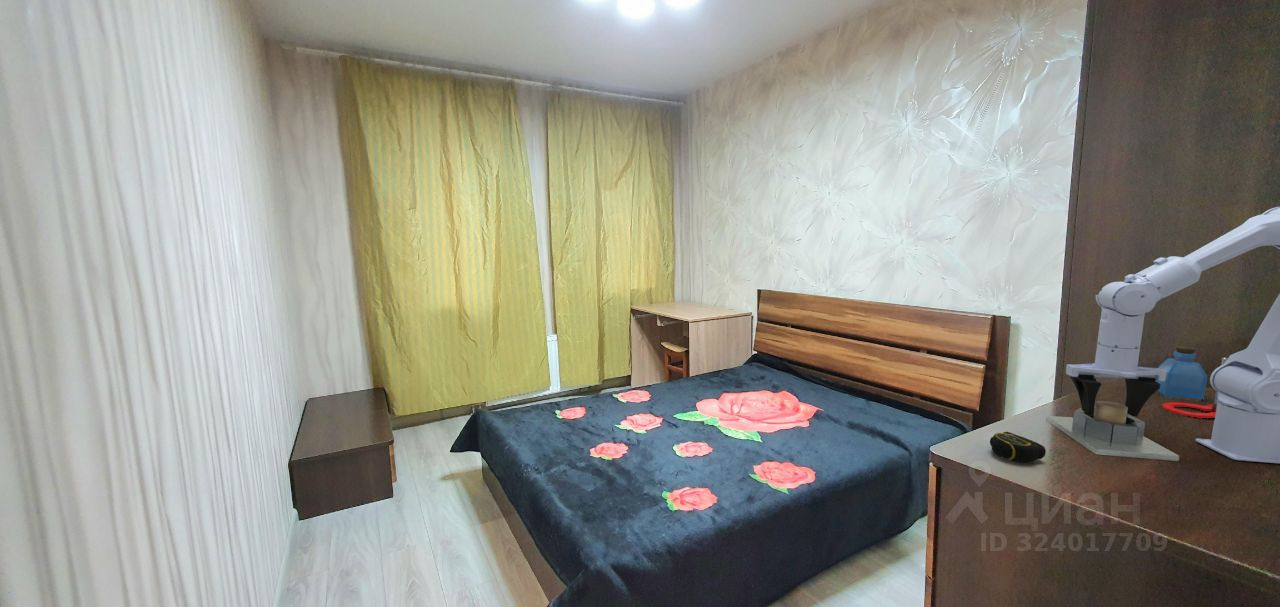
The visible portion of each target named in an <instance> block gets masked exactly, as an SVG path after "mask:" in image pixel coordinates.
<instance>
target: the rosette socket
mask: <svg viewBox="0 0 1280 607" xmlns="http://www.w3.org/2000/svg"><path fill="white" fill-rule="evenodd" d="M1094 411H1095V407H1094ZM1094 411H1093V414H1088V413H1086V412H1084V411H1083V410H1082V407H1080V408H1077V409H1076V410H1074V411H1073V417H1072V416H1056V415H1055V416H1054V415H1046V416H1045V421H1046V422H1048V423H1049V424H1051V425H1052V426H1053V427H1055V428H1057V429H1058V430H1059V431H1061V432H1063V433H1064V434H1065V435H1067V436H1068V437H1070V438H1072V439H1073V440H1074V441H1076V443H1079V444H1080V445H1082V446H1083V447H1085V448H1086V449H1087V450H1088V451H1090V452H1092V453H1093V454H1094V455H1097V456H1098V455H1099V456H1110V457H1111V456H1114V457H1125V458H1135V459H1136V458H1137V459H1146V460H1147V459H1149V460H1162V461H1172V462H1173V461H1174V462H1179V460H1180V455H1179V454H1177V453H1175V452H1173V451H1171V450H1169V449H1168V448H1165V447H1164V446H1162V445H1160V444H1159V443H1157V442H1156V441H1153V440H1151V439H1149V438H1148V437H1146V436H1144V435H1145V433H1144V432H1145V427H1146V422H1145V421H1143V420H1141V419H1140V418H1137V417H1133V416H1131V415H1129V414H1127V417H1126V423H1125V424H1118V423H1109V422H1105V421H1101V420H1097V419H1093V417H1094Z"/></svg>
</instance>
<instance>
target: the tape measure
mask: <svg viewBox="0 0 1280 607" xmlns="http://www.w3.org/2000/svg"><path fill="white" fill-rule="evenodd" d="M989 445H990V446H991V452H992V453H993V454H995V455H996V456H998V457H1000V458H1002V459H1005V460H1008V461H1011V462H1013V461H1014V462H1015V463H1021V464H1032V463H1034V462H1036V461H1038V460H1042V459H1043V458H1044V457H1045V456H1046V448H1045V446H1044V445H1042V444H1040V443H1039V442H1036V441H1034V440H1032V439H1029V438H1026V437H1024V436H1021V435H1017V434H1015V433H1012V432H1010V431H1004V432H997V433H995V434H994V435H993V436H992V437H991V438H990V440H989ZM1014 462H1013V463H1014Z"/></svg>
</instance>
